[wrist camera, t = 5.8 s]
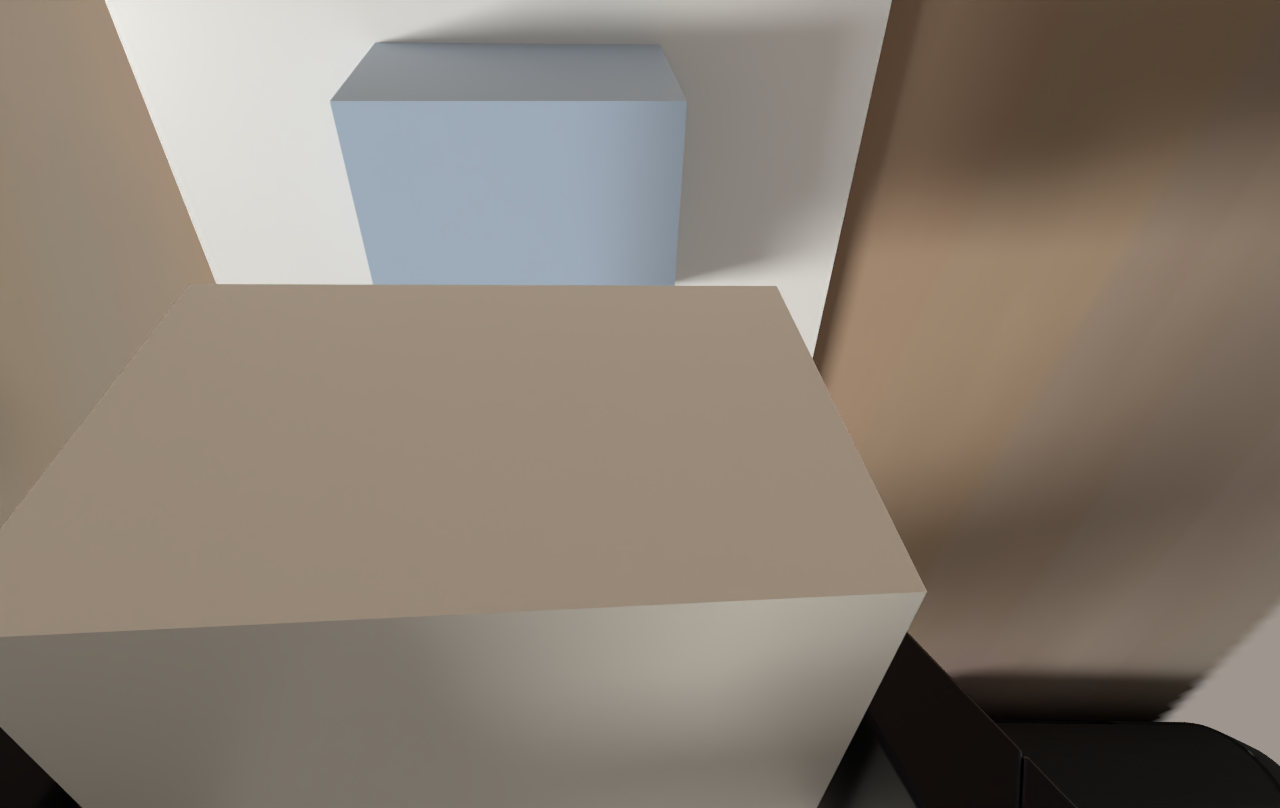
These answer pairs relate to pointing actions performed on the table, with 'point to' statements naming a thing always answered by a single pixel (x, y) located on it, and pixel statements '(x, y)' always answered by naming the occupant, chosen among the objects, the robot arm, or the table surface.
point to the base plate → (512, 14)
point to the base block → (515, 163)
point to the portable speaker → (1147, 764)
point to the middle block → (453, 557)
